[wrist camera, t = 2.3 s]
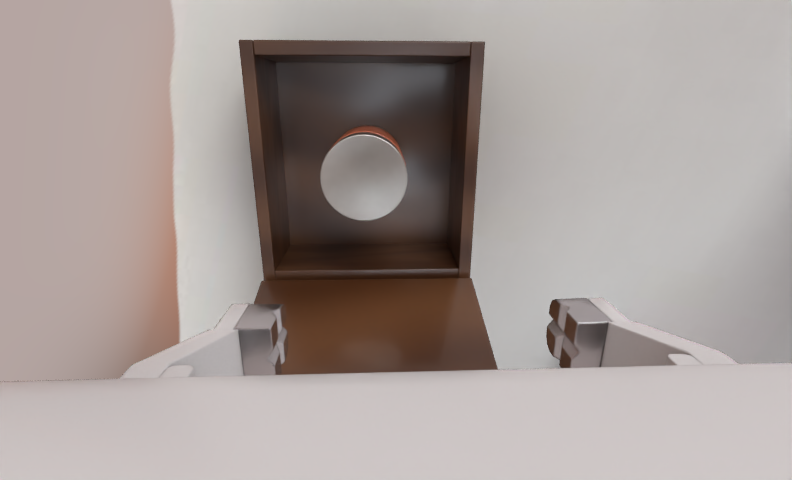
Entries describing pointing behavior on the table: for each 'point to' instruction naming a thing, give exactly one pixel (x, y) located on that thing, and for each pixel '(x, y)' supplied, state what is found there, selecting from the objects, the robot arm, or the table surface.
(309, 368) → the lid
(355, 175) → the can
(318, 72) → the chest
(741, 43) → the table surface
